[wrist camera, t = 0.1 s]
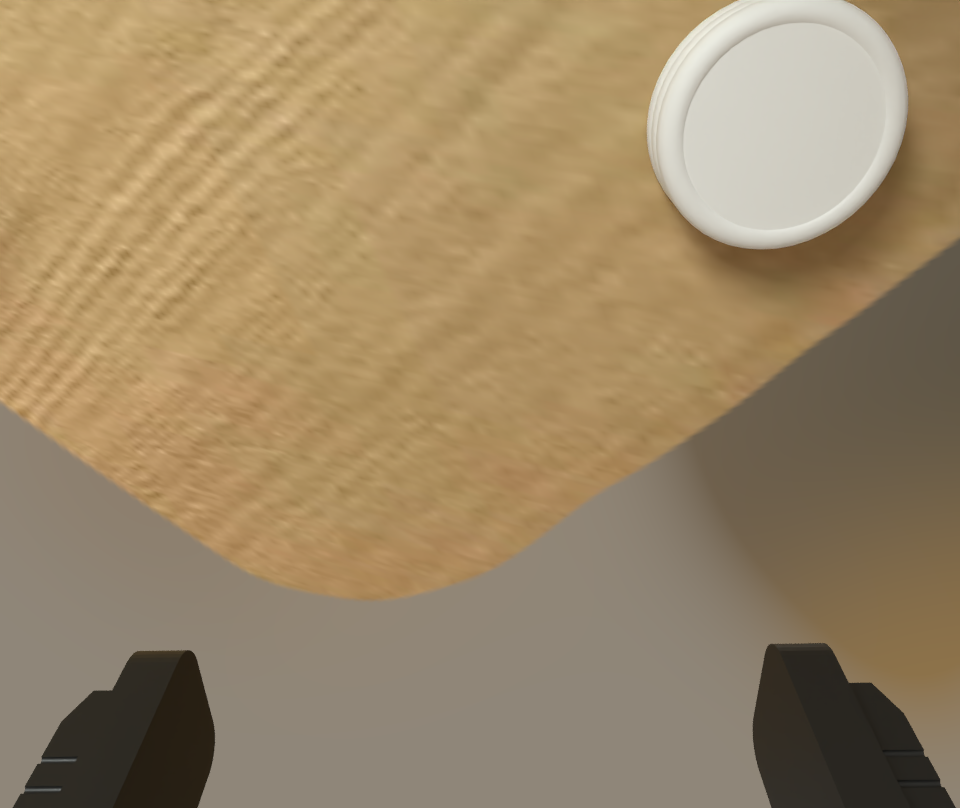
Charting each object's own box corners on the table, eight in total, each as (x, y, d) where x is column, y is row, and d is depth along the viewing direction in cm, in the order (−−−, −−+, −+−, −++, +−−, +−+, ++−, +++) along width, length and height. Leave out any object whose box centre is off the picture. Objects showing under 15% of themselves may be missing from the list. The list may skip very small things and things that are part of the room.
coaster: (699, 268, 39) (717, 293, 36) (605, 75, 35) (617, 86, 32) (906, 159, 37) (944, 177, 34) (831, -61, 33) (867, -64, 30)
